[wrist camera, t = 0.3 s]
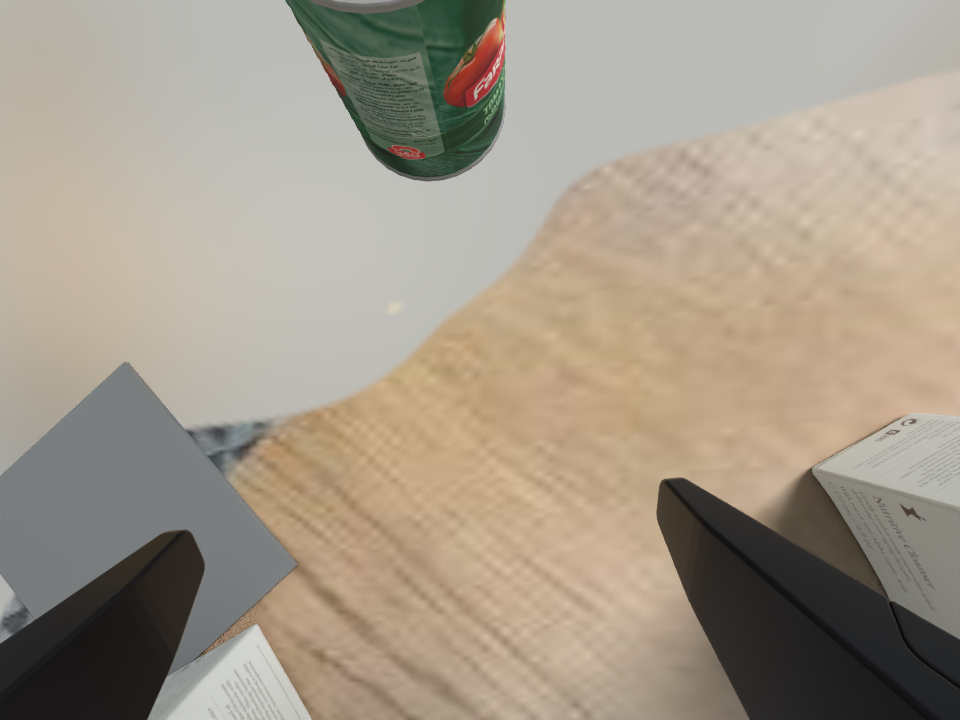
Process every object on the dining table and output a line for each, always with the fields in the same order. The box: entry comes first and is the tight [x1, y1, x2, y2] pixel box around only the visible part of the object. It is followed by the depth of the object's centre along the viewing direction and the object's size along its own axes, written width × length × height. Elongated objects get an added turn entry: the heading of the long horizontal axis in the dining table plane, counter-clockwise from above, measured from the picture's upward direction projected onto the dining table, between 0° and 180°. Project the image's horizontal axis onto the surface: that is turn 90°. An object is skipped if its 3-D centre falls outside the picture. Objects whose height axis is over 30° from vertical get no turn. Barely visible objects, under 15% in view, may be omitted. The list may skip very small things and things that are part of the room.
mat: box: [0, 362, 298, 676], centre depth 23 cm, size 14×12×1 cm
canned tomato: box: [286, 0, 506, 181], centre depth 18 cm, size 8×8×11 cm
